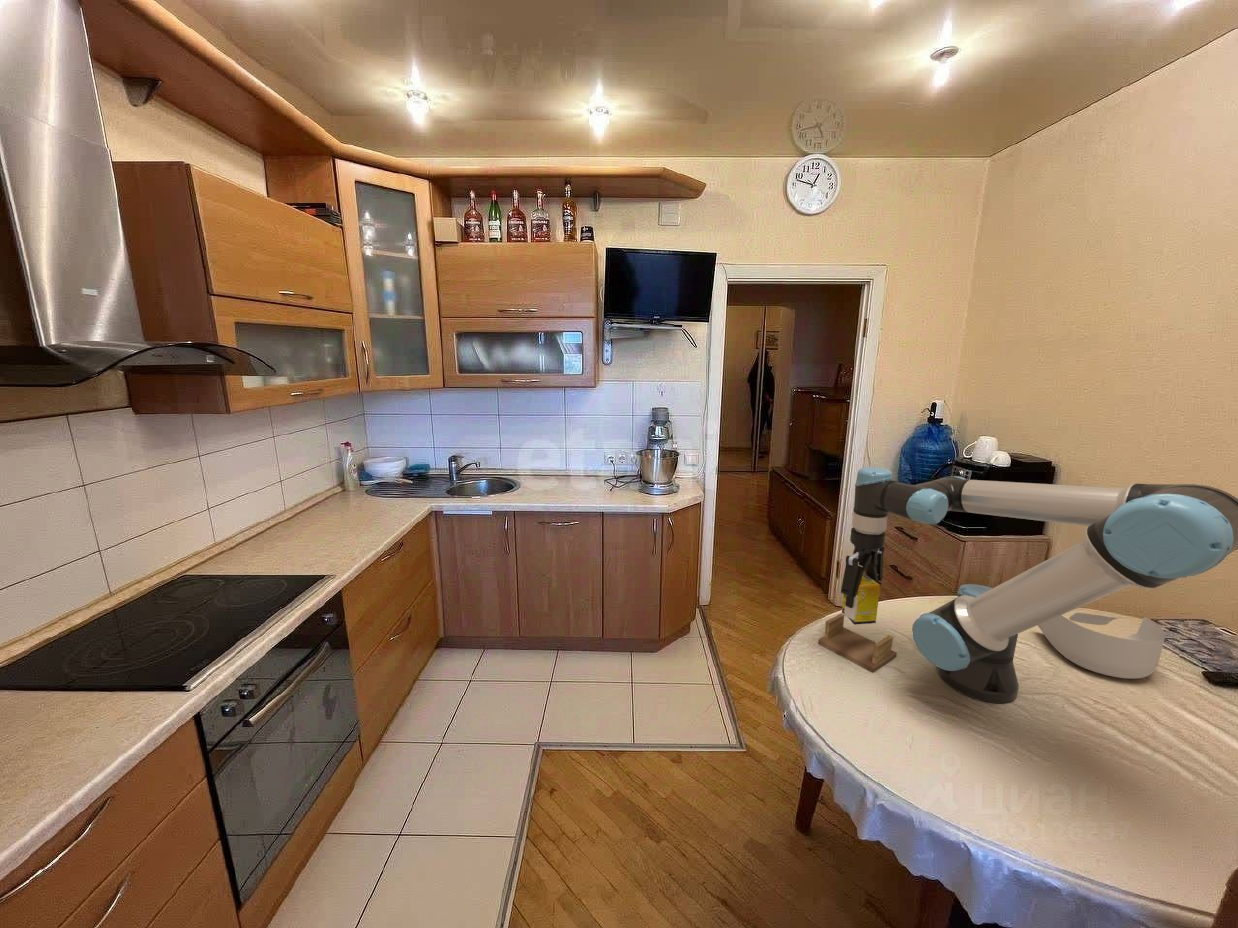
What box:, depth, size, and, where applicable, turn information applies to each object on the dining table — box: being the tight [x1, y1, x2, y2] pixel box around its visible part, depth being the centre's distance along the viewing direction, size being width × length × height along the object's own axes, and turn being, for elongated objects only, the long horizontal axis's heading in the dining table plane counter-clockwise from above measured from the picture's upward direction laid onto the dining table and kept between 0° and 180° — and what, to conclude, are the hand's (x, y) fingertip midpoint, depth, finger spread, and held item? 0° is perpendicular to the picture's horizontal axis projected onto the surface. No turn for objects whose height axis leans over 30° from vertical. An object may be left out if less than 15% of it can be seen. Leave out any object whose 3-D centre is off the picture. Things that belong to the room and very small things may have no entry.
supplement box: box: [841, 573, 881, 626], centre depth 122 cm, size 6×6×11 cm
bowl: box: [1037, 612, 1166, 680], centre depth 118 cm, size 20×19×12 cm
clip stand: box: [817, 613, 898, 674], centre depth 124 cm, size 15×11×6 cm
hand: (859, 612), depth 123 cm, fingers closed on supplement box, 8 cm apart
